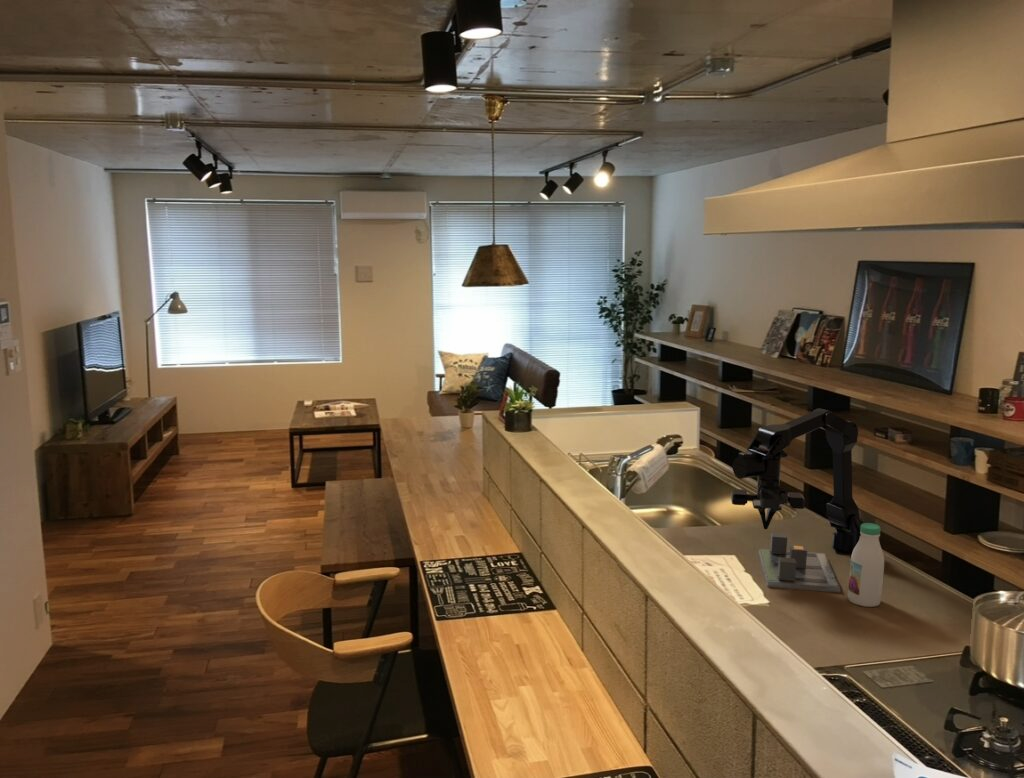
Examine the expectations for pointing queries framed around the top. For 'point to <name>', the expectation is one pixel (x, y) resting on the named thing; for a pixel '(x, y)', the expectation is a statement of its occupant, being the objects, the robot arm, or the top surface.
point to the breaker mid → (799, 555)
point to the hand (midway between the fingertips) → (765, 528)
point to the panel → (800, 572)
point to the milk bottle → (866, 568)
